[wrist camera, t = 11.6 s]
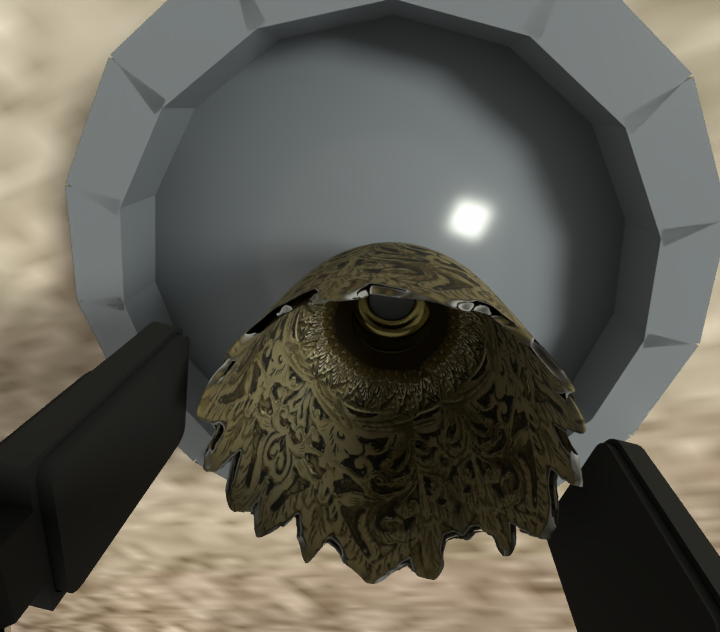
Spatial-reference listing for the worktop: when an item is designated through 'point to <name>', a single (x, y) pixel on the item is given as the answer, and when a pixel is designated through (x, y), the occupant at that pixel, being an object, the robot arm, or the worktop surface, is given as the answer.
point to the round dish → (403, 178)
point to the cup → (392, 415)
